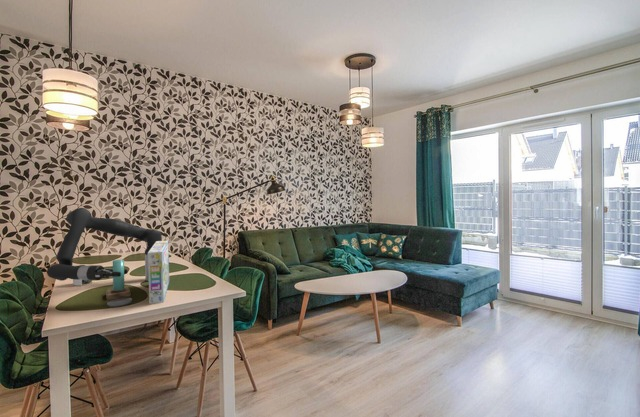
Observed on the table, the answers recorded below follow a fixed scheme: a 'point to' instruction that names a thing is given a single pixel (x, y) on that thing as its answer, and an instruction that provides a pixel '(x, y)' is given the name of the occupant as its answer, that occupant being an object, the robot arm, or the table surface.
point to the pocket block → (118, 293)
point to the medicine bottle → (81, 281)
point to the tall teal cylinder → (119, 281)
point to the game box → (158, 271)
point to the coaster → (119, 302)
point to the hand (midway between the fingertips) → (123, 272)
